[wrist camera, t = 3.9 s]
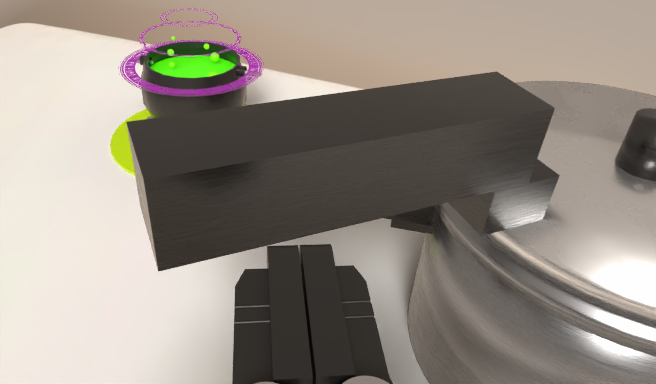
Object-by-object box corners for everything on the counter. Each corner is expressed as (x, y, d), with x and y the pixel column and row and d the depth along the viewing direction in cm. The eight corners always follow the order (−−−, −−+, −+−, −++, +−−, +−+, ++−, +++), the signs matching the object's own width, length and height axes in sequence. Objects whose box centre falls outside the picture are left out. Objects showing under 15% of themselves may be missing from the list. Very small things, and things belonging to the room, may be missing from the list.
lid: (615, 82, 36) (655, -14, 32) (976, 267, 22) (1114, 139, 19) (122, 161, 24) (97, 26, 21) (249, 650, 11) (241, 507, 7)
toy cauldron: (294, 110, 54) (299, -1, 47) (264, 198, 42) (264, 64, 35) (149, 94, 55) (133, -18, 48) (78, 175, 42) (44, 40, 36)
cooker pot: (721, 268, 38) (813, 135, 32) (902, 572, 23) (1150, 434, 17) (264, 191, 42) (264, 58, 36) (156, 407, 27) (122, 242, 20)
